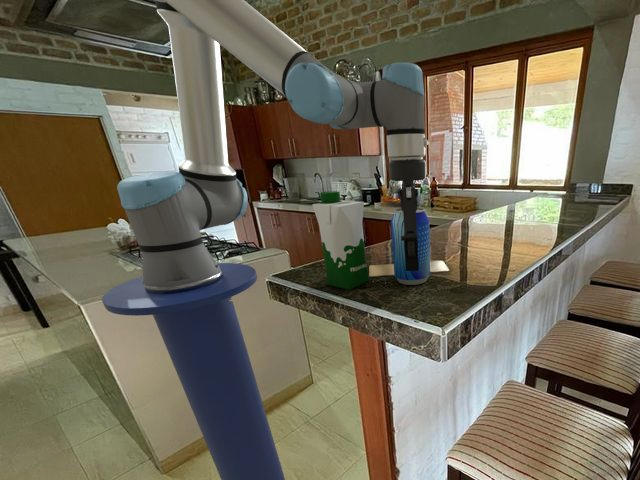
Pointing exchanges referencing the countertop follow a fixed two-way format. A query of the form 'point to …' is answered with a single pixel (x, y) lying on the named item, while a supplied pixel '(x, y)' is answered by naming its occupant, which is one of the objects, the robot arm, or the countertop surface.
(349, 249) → the milk carton
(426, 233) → the beer can
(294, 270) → the countertop surface
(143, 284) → the robot arm
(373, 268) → the mat
